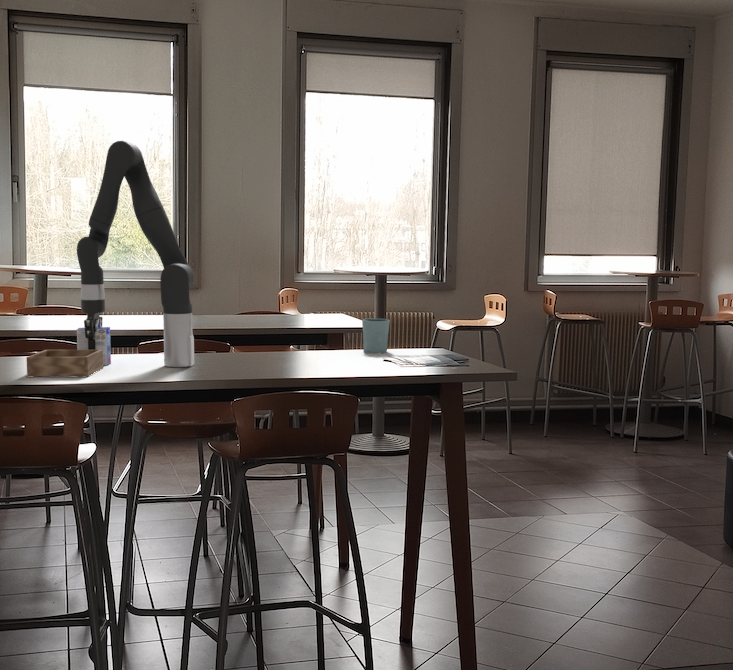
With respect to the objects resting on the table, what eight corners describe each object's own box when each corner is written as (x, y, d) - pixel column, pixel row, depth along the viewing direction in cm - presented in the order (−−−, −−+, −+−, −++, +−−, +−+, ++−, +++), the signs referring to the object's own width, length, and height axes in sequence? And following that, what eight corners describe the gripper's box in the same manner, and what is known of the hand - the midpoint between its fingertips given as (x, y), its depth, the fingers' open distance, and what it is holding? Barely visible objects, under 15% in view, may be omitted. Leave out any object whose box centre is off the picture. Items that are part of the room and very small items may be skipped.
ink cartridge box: (111, 363, 303) (110, 319, 302) (108, 365, 298) (106, 321, 296) (81, 363, 303) (80, 319, 301) (77, 365, 297) (75, 321, 296)
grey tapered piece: (368, 349, 342) (368, 317, 341) (393, 351, 338) (393, 318, 337) (357, 352, 332) (358, 320, 331) (383, 354, 329) (384, 321, 328)
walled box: (103, 368, 292) (102, 349, 291) (88, 377, 274) (87, 357, 273) (46, 368, 291) (45, 349, 290) (27, 377, 273) (26, 357, 272)
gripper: (98, 299, 291) (100, 352, 293) (109, 296, 305) (111, 347, 307) (75, 299, 291) (76, 352, 293) (87, 296, 305) (88, 347, 307)
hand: (94, 349), depth 300 cm, fingers closed on ink cartridge box, 5 cm apart
